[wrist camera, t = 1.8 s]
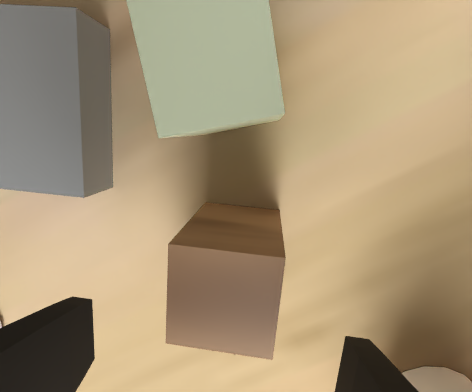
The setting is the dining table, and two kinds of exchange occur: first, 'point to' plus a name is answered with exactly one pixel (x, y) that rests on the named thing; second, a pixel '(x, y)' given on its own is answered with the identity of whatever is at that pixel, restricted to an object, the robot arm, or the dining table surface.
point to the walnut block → (226, 280)
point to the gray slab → (54, 101)
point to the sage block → (207, 64)
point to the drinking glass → (438, 380)
